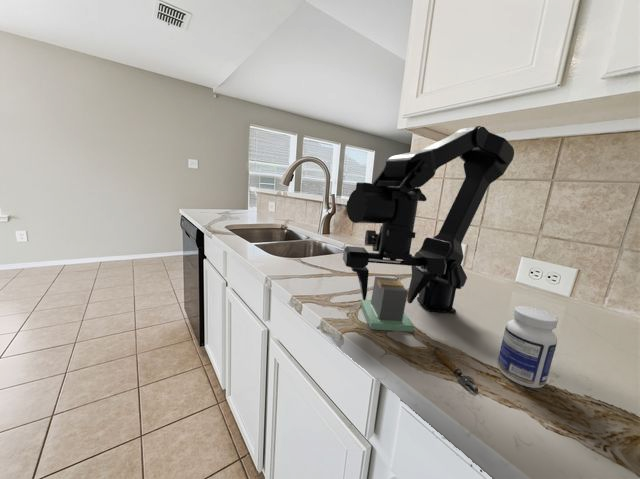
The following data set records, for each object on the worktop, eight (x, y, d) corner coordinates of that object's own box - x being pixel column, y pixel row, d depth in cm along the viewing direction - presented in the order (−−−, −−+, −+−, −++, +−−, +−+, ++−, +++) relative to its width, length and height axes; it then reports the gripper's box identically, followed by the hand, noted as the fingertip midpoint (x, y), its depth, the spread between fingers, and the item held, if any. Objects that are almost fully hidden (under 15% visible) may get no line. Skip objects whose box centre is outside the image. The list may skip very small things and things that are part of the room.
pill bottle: (522, 362, 40) (537, 305, 38) (556, 391, 35) (576, 324, 33) (487, 360, 40) (501, 302, 38) (515, 389, 34) (534, 322, 32)
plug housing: (370, 302, 54) (375, 275, 53) (391, 304, 55) (396, 277, 53) (378, 319, 48) (384, 288, 46) (402, 321, 48) (408, 290, 47)
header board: (360, 304, 56) (362, 288, 55) (395, 307, 56) (398, 291, 56) (370, 329, 46) (373, 310, 46) (413, 331, 47) (416, 313, 46)
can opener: (432, 353, 41) (433, 347, 41) (445, 353, 41) (446, 347, 41) (468, 399, 32) (470, 391, 32) (485, 398, 33) (487, 391, 32)
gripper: (427, 222, 56) (416, 288, 59) (343, 215, 55) (336, 282, 58) (455, 230, 45) (439, 311, 48) (351, 221, 44) (342, 304, 47)
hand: (386, 300), depth 51 cm, fingers open, 9 cm apart
